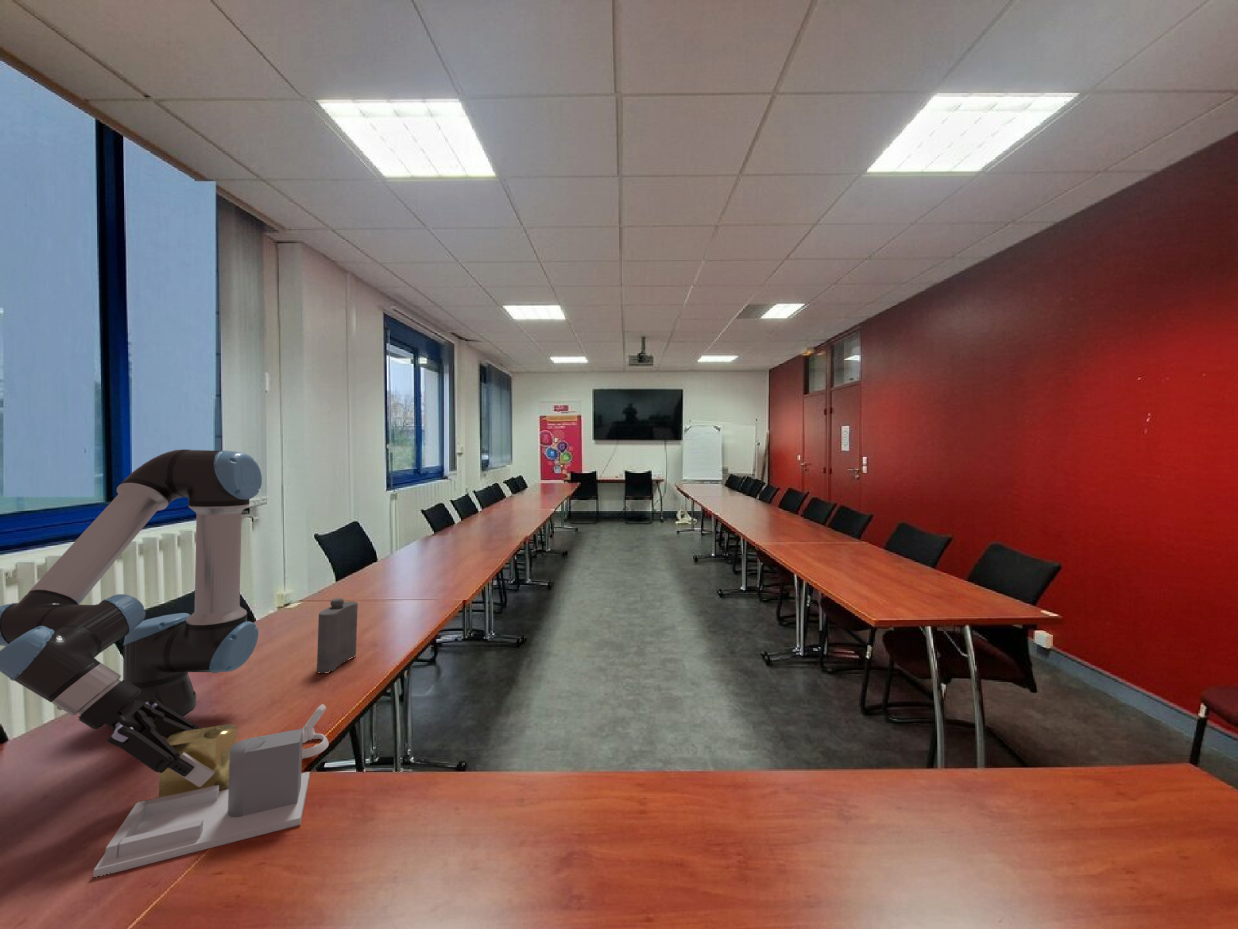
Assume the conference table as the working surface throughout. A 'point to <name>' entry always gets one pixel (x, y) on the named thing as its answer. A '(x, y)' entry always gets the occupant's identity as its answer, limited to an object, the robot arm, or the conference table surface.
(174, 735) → the block
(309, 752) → the hook
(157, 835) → the hinge base
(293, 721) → the conference table surface
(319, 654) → the flask
